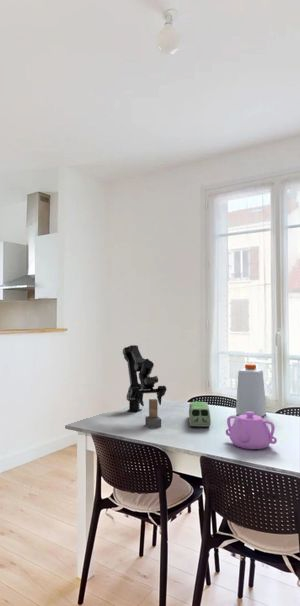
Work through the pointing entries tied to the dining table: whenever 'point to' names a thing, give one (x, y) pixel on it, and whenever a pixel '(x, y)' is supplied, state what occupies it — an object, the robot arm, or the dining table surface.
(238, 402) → the plastic bottle
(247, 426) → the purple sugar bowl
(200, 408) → the toy car
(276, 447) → the dining table surface
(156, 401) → the tall wooden pillar block
